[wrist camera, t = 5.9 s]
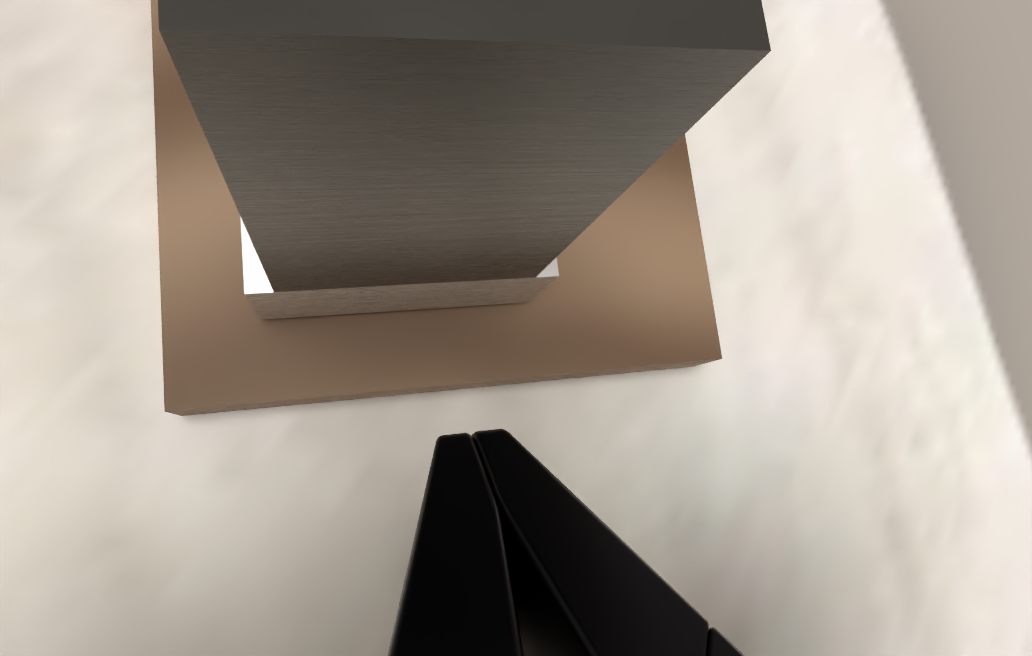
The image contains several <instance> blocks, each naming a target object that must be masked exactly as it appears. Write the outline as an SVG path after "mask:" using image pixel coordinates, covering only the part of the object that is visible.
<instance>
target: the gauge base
mask: <svg viewBox="0 0 1032 656" xmlns="http://www.w3.org/2000/svg"><path fill="white" fill-rule="evenodd" d="M151 17H152V47H153V77H154V106H155V136H156V166H157V196H158V226H159V255H160V285H161V315H162V345H163V375H164V404H165V412H169V413H173V414H177V415H181V416H184V415H194V414H204V413H215V412H225V411H235V410H246V409H256V408H266V407H277V406H287V405H298V404H308V403H318V402H329V401H339V400H349V399H360V398H370V397H380V396H391V395H401V394H411V393H422V392H432V391H442V390H453V389H463V388H474V387H484V386H494V385H505V384H515V383H525V382H536V381H546V380H556V379H567V378H577V377H587V376H598V375H608V374H619V373H629V372H639V371H650V370H660V369H670V368H681V367H691V366H696V365H700V364H704V363H708V362H711V361H715V360H719V359H722V355H721V349H720V343H719V337H718V331H717V325H716V319H715V313H714V307H713V301H712V295H711V289H710V283H709V277H708V271H707V265H706V259H705V253H704V247H703V241H702V235H701V229H700V223H699V217H698V211H697V205H696V199H695V193H694V187H693V181H692V175H691V169H690V163H689V156H688V150H687V144H686V138H685V134H684V135H683V136H682V137H681V138H680V139H679V140H678V141H677V142H676V143H675V144H674V145H673V146H671V147H670V148H669V149H668V150H667V151H666V152H665V153H664V154H663V155H662V156H661V157H660V158H659V159H658V160H657V161H656V162H655V163H654V164H653V165H652V166H651V167H650V168H649V169H648V170H647V171H646V172H644V173H643V174H642V175H641V176H640V177H639V178H638V179H637V180H636V181H635V182H634V183H633V184H632V185H631V186H630V187H629V188H628V189H627V190H626V191H625V192H624V193H623V194H622V195H621V196H620V197H619V198H617V199H616V200H615V201H614V202H613V203H612V204H611V205H610V206H609V207H608V208H607V209H606V210H605V211H604V212H603V213H602V214H601V215H600V216H599V217H598V218H597V219H596V220H595V221H594V222H593V223H592V224H591V225H589V226H588V227H587V228H586V229H585V230H584V231H583V232H582V233H581V234H580V235H579V236H578V237H577V238H576V239H575V240H574V241H573V242H572V243H571V244H570V245H569V246H568V247H567V248H566V249H565V250H564V251H562V252H561V253H560V254H559V255H558V256H557V264H558V272H559V277H558V278H556V279H555V280H554V281H553V282H552V283H551V284H549V285H548V286H547V287H546V288H545V289H544V290H542V291H541V292H540V293H539V294H538V295H537V296H536V297H534V298H533V299H532V300H531V301H530V302H523V303H508V304H492V305H477V306H462V307H447V308H432V309H416V310H401V311H386V312H371V313H355V314H340V315H325V316H310V317H295V318H279V319H264V320H260V318H259V316H258V315H257V313H256V312H255V310H254V308H253V307H252V305H251V303H250V302H249V300H248V299H247V297H246V295H245V293H244V274H243V256H242V237H241V218H240V214H239V212H238V210H237V207H236V205H235V203H234V200H233V198H232V196H231V193H230V191H229V189H228V187H227V184H226V182H225V180H224V177H223V175H222V173H221V171H220V168H219V166H218V164H217V161H216V159H215V157H214V155H213V152H212V150H211V148H210V145H209V143H208V141H207V139H206V136H205V134H204V132H203V129H202V127H201V125H200V123H199V120H198V118H197V116H196V113H195V111H194V109H193V107H192V104H191V102H190V100H189V97H188V95H187V93H186V91H185V88H184V86H183V84H182V81H181V79H180V77H179V75H178V72H177V70H176V68H175V65H174V63H173V61H172V59H171V56H170V54H169V52H168V49H167V47H166V45H165V43H164V40H163V38H162V36H161V33H160V31H159V20H158V0H151Z"/></svg>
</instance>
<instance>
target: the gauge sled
mask: <svg viewBox="0 0 1032 656" xmlns="http://www.w3.org/2000/svg"><path fill="white" fill-rule="evenodd" d="M158 20H159V31H160V33H161V36H162V38H163V40H164V43H165V45H166V47H167V49H168V52H169V54H170V56H171V59H172V61H173V63H174V65H175V68H176V70H177V72H178V75H179V77H180V79H181V81H182V84H183V86H184V88H185V91H186V93H187V95H188V97H189V100H190V102H191V104H192V107H193V109H194V111H195V113H196V116H197V118H198V120H199V123H200V125H201V127H202V129H203V132H204V134H205V136H206V139H207V141H208V143H209V145H210V148H211V150H212V152H213V155H214V157H215V159H216V161H217V164H218V166H219V168H220V171H221V173H222V175H223V177H224V180H225V182H226V184H227V187H228V189H229V191H230V193H231V196H232V198H233V200H234V203H235V205H236V207H237V210H238V212H239V214H240V218H241V237H242V256H243V274H244V293H245V295H246V297H247V299H248V300H249V302H250V303H251V305H252V307H253V308H254V310H255V312H256V313H257V315H258V316H259V318H260V320H264V319H279V318H295V317H310V316H325V315H340V314H355V313H371V312H386V311H401V310H416V309H432V308H447V307H462V306H477V305H492V304H508V303H523V302H530V301H531V300H532V299H533V298H534V297H536V296H537V295H538V294H539V293H540V292H541V291H542V290H544V289H545V288H546V287H547V286H548V285H549V284H551V283H552V282H553V281H554V280H555V279H556V278H558V277H559V272H558V264H557V256H558V255H559V254H560V253H561V252H562V251H564V250H565V249H566V248H567V247H568V246H569V245H570V244H571V243H572V242H573V241H574V240H575V239H576V238H577V237H578V236H579V235H580V234H581V233H582V232H583V231H584V230H585V229H586V228H587V227H588V226H589V225H591V224H592V223H593V222H594V221H595V220H596V219H597V218H598V217H599V216H600V215H601V214H602V213H603V212H604V211H605V210H606V209H607V208H608V207H609V206H610V205H611V204H612V203H613V202H614V201H615V200H616V199H617V198H619V197H620V196H621V195H622V194H623V193H624V192H625V191H626V190H627V189H628V188H629V187H630V186H631V185H632V184H633V183H634V182H635V181H636V180H637V179H638V178H639V177H640V176H641V175H642V174H643V173H644V172H646V171H647V170H648V169H649V168H650V167H651V166H652V165H653V164H654V163H655V162H656V161H657V160H658V159H659V158H660V157H661V156H662V155H663V154H664V153H665V152H666V151H667V150H668V149H669V148H670V147H671V146H673V145H674V144H675V143H676V142H677V141H678V140H679V139H680V138H681V137H682V136H683V135H684V134H685V133H686V132H687V131H688V130H689V129H690V128H691V127H692V126H693V125H694V124H695V123H696V122H697V121H698V120H699V119H701V118H702V117H703V116H704V115H705V114H706V113H707V112H708V111H709V110H710V109H711V108H712V107H713V106H714V105H715V104H716V103H717V102H718V101H719V100H720V99H721V98H722V97H723V96H724V95H725V94H726V93H728V92H729V91H730V90H731V89H732V88H733V87H734V86H735V85H736V84H737V83H738V82H739V81H740V80H741V79H742V78H743V77H744V76H745V75H746V74H747V73H748V72H749V71H750V70H751V69H752V68H753V67H754V66H756V65H757V64H758V63H759V62H760V61H761V60H762V59H763V58H764V57H765V56H766V55H767V54H768V53H769V52H770V51H771V49H770V44H769V38H768V33H767V28H766V23H765V18H764V12H763V7H762V2H761V0H158Z"/></svg>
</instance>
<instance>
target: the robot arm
mask: <svg viewBox="0 0 1032 656" xmlns="http://www.w3.org/2000/svg"><path fill="white" fill-rule="evenodd" d="M388 656H744V655H743V654H742V653H741V652H740V651H739V650H738V649H737V648H736V647H735V646H733V645H732V644H731V643H730V642H729V641H728V640H727V639H726V638H725V637H724V636H723V635H722V634H721V633H720V632H719V631H718V630H717V629H716V628H714V627H711V628H709V623H708V621H707V620H706V619H705V618H704V617H703V616H701V615H700V614H699V613H698V612H697V611H696V610H695V609H694V608H693V607H692V606H691V605H690V604H689V603H688V602H687V601H686V600H685V599H684V598H683V597H681V596H680V595H679V594H678V593H677V592H676V591H675V590H674V589H673V588H672V587H671V586H670V585H669V584H668V583H667V582H666V581H665V580H664V579H663V578H661V577H660V576H659V575H658V574H657V573H656V572H655V571H654V570H653V569H652V568H651V567H650V566H649V565H648V564H647V563H646V562H645V561H644V560H642V559H641V558H640V557H639V556H638V555H637V554H636V553H635V552H634V551H633V550H632V549H631V548H630V547H629V546H628V545H627V544H626V543H625V542H624V541H622V540H621V539H620V538H619V537H618V536H617V535H616V534H615V533H614V532H613V531H612V530H611V529H610V528H609V527H608V526H607V525H606V524H605V523H604V522H602V521H601V520H600V519H599V518H598V517H597V516H596V515H595V514H594V513H593V512H592V511H591V510H590V509H589V508H588V507H587V506H586V505H585V504H584V503H582V502H581V501H580V500H579V499H578V498H577V497H576V496H575V495H574V494H573V493H572V492H571V491H570V490H569V489H568V488H567V487H566V486H565V485H564V484H562V483H561V482H560V481H559V480H558V479H557V478H556V477H555V476H554V475H553V474H552V473H551V472H550V471H549V470H548V469H547V468H546V467H545V466H544V465H542V464H541V463H540V462H539V461H538V460H537V459H536V458H535V457H534V456H533V455H532V454H531V453H530V452H529V451H528V450H527V449H526V448H525V447H523V446H522V445H521V444H520V443H519V442H518V441H517V440H516V439H515V438H514V437H513V436H512V435H511V434H510V433H509V432H507V431H506V430H503V429H496V430H487V431H478V432H475V433H474V434H473V435H472V436H471V435H470V434H468V433H460V434H452V435H443V436H440V437H438V439H437V441H436V445H435V449H434V453H433V458H432V462H431V467H430V471H429V476H428V480H427V484H426V489H425V493H424V498H423V502H422V506H421V511H420V515H419V520H418V524H417V528H416V533H415V537H414V542H413V546H412V550H411V555H410V559H409V564H408V568H407V573H406V577H405V581H404V586H403V590H402V595H401V599H400V603H399V608H398V612H397V617H396V621H395V625H394V630H393V634H392V639H391V643H390V647H389V652H388Z"/></svg>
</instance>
